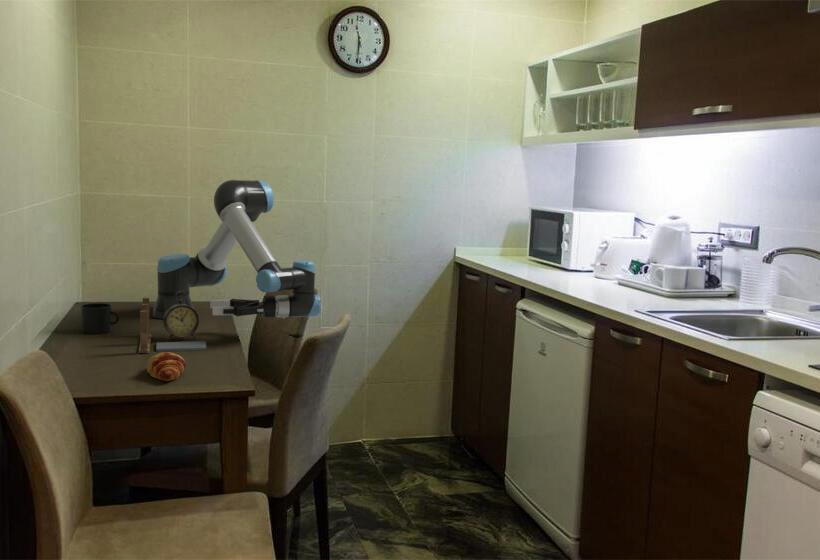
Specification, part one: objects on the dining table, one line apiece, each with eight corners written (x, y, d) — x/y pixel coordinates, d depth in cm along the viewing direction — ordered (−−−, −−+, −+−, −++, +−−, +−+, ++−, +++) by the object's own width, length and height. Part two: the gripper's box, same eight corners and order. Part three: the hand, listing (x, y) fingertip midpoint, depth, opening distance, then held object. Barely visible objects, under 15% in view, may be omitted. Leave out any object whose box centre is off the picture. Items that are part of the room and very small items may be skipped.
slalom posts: (141, 335, 253) (141, 297, 252) (151, 335, 254) (150, 297, 252) (138, 353, 229) (138, 311, 227) (149, 353, 230) (148, 311, 228)
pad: (156, 345, 241) (156, 342, 241) (205, 343, 246) (205, 341, 246) (156, 351, 233) (156, 348, 233) (206, 349, 237) (206, 347, 237)
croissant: (152, 377, 217) (138, 354, 214) (184, 359, 220) (171, 336, 217) (158, 396, 197) (143, 371, 195) (193, 377, 200) (179, 351, 198)
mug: (117, 334, 254) (116, 307, 253) (79, 334, 252) (78, 307, 251) (121, 328, 264) (121, 303, 262) (84, 328, 261) (84, 303, 260)
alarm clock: (165, 342, 246) (165, 293, 243) (162, 338, 250) (162, 290, 248) (199, 340, 251) (199, 291, 248) (195, 336, 255) (195, 289, 253)
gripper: (280, 324, 247) (213, 325, 241) (270, 311, 271) (209, 312, 264) (280, 301, 246) (213, 302, 240) (270, 290, 270) (209, 291, 263)
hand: (211, 307), depth 252 cm, fingers open, 13 cm apart
